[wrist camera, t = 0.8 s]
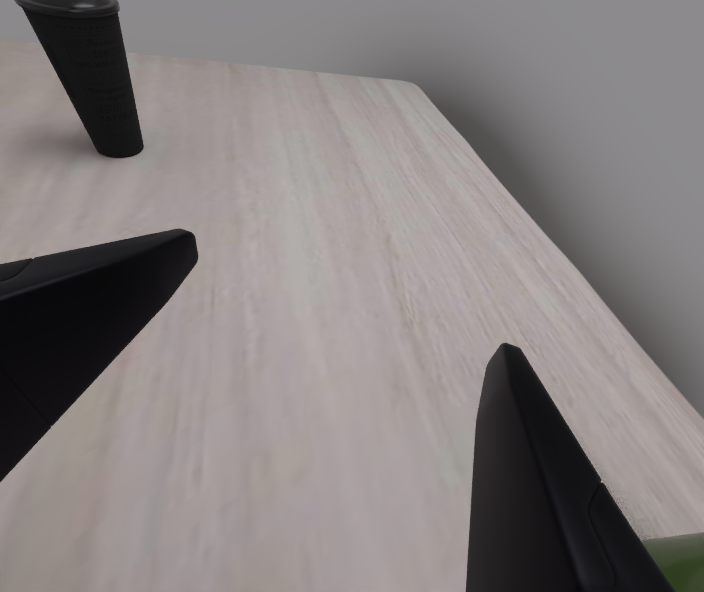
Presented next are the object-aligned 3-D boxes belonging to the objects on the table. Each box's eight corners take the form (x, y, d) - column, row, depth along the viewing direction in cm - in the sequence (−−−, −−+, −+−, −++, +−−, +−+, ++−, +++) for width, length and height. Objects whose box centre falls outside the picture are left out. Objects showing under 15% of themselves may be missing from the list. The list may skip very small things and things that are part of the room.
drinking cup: (150, 166, 39) (70, -99, 24) (72, 162, 37) (-68, -128, 22) (162, 134, 44) (101, -106, 29) (93, 128, 42) (-11, -130, 27)
